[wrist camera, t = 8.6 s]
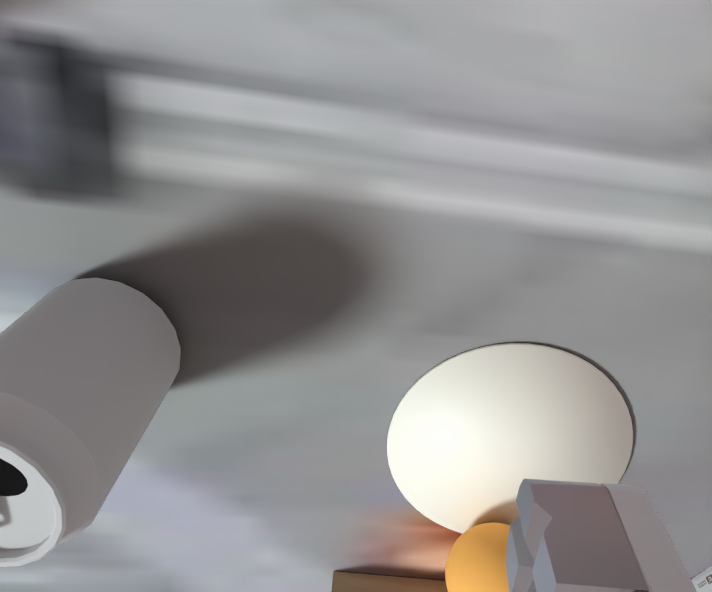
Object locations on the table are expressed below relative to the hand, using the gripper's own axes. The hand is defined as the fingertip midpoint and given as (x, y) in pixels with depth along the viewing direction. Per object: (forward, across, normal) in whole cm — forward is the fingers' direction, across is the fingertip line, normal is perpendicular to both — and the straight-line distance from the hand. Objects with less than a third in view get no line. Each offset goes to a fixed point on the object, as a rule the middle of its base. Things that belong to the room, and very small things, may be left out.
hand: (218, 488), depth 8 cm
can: (+21, +11, +11) cm, 26 cm away
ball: (+17, -10, +23) cm, 30 cm away
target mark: (+20, -10, +16) cm, 28 cm away
